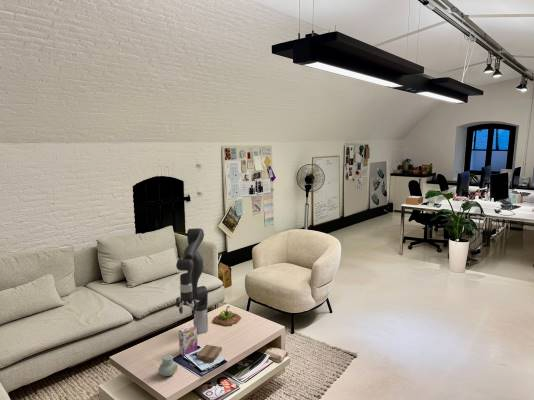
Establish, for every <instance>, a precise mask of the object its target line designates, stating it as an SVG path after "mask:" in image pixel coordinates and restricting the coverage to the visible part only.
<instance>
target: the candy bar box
mask: <svg viewBox="0 0 534 400" xmlns="http://www.w3.org/2000/svg"><path fill="white" fill-rule="evenodd" d="M178 341H179V342H178V346H179V354H180V355H181V356H182V357H184V356H186V355H185V354H187V353H189V354H191V353H193V352H195V351H197V350H198V333H197V326H195V325H194V324H190V325H188V326H185V327H183V328H180V329H178ZM194 350H195V351H194ZM192 351H193V352H192ZM190 352H191V353H190ZM187 355H188V354H187Z"/></svg>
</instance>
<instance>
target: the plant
mask: <svg viewBox="0 0 534 400" xmlns="http://www.w3.org/2000/svg"><path fill="white" fill-rule="evenodd" d="M228 309H230V305H228V306H227V307H226V310H222V311H221V312H220V313H219V314H218V315H215V316H214V317H213V319H212V323H213V324H214V325H218V326H222V327H232V326H233V325H236V324H238V323H239V322H240V321H241V320H242V316H240V315H239V314H237V313H235V312H233V311H230V310H228Z"/></svg>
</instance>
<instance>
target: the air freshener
mask: <svg viewBox="0 0 534 400" xmlns="http://www.w3.org/2000/svg"><path fill="white" fill-rule="evenodd" d="M173 357H174V356H173V355H172V354H166V355H164V356H163V357H162V363H161V364H160V365H159V367H158V373H159V374H160V375H162V376H164V377H168V376H169V377H171V376H172V375H174V374H175V373H176V372H177V369H179V368H178V367H179V366H178V364H177V362H176V361H174V358H173Z"/></svg>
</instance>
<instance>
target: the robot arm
mask: <svg viewBox="0 0 534 400" xmlns="http://www.w3.org/2000/svg"><path fill="white" fill-rule="evenodd" d="M186 232H187V233H186V238H187V244H188V246H186V247H185V249H184V251H183V254H182V255H181V256H180V257H179V258H178V260H177V261H176V269H177V270H178V271H182V272H183V271H187V272H183V273H181V274H180V275H179V280H180V281H179V291H180V294H179V295H180V296H178V297H177V298H175V301H176V302H175V304H176V305H175V306H176V308H178V309H179V310H178V312H179V314H181V315H182V314H183V311H184V310H183V309H184V308H183V306H187V307H189V308H190V309H191V316H194V318H193V321H192V322H193V323H192V324H193V325H195V326H197V335H198V334H199V335H200V334H206V333H208V332H209V331H208V330H209V321H208V319H209V318H208V303H209V302H208V297H209V296H208V289H207V287H206V286H205V285H201V286H198V285H199V284H198V283H199V279H200V277H201V275H202V273H203V271H204V259H203V257H202V255H201V254H200V253H199V252H198V248H199V247H200V246H201V244H202V243H203V240H204V238H205V232H204V229H202V228H199V227H198V228H188V230H187V231H186Z"/></svg>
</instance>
